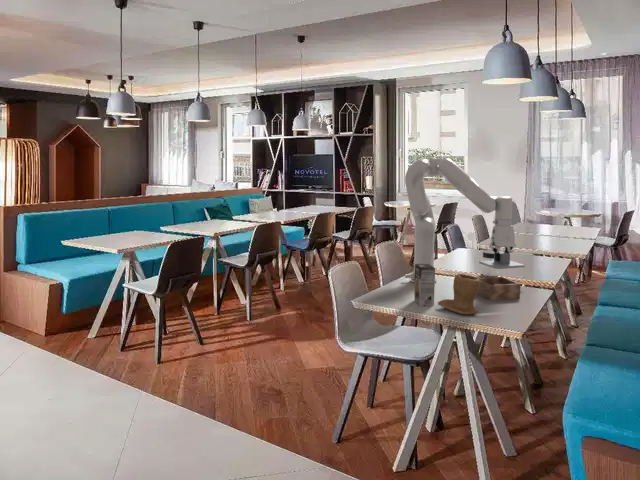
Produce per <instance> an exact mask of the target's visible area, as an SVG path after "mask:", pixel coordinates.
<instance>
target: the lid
mask: <svg viewBox="0 0 640 480" xmlns="http://www.w3.org/2000/svg"><path fill="white" fill-rule="evenodd" d="M499 253H500V262H498V261H495V252H494V260H491V261H482V260H480V261H478V262H479V263H478V264H479V265H482V264H483V265H486V266H489V267H492V268H494V269H498V270H500V269H501V270H504V269H517V268H526V264H523V263H519V262H516V261H513V260H511V253H506V252H505V251H502V250H501V251H499Z"/></svg>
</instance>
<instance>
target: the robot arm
mask: <svg viewBox="0 0 640 480" xmlns="http://www.w3.org/2000/svg"><path fill="white" fill-rule="evenodd" d="M424 177H442V178H444V180H445V181H446V182H448V183H449V184H450V185H451V186H452V187H454V188H455V189H456V190H457V191H458V192H459V193H460V194H462V196H464V197H465V198H467V199H468V200H469V201H470V202H471V203H472V204H473V205H474V206H475V207H476V208H478V209H479V210H480V211H481V212H482V213H485V214H489V213H492V212H494V220H492V224H494V225H493V226H492V227H493V228H492V231H491V240H490V243H489V245H488V248H489V249H491V251H494V252H495V261H498V262H500V253H499V252H500V250H501V248H504V252H506V253H509V254H511V251H512V250H513V248H515V247H516V246H517V245H516V243H515V242H516V241H515V239H516V237H515V227H514V225H512V224H513V223H512V219H513V198H512V197H511V196H503V195H502V196H492V195H490V194H488V193H487V192H486V191H485V190H484V189H482V188H481V186H480V185H478V183H477V182H476V181H475V180H474V179H473V178H472V176H470V175H469V174H468V173H467V172H466V171H464V170H463V169H462V168H461V167H460V166H459V165H457V163H455V162H454V161H453V160H452V159H451V158H448V157H447V158H420V159H417V160H415V161H414V162H413V163H412V164H411V165H410V166H409V167H408V169H407V170H406V172H405V176H404V182H405V189H406V193H407V198H408V201H409V207H410V209H409V210H410V211H411V212H412V215H413V219H414V222H415V224H414V250H413V252H414V255H413V256H414V262H413V271H412V272H411V273H406V274H404V278H405V279H410V282H412V283H414V284H415V264H430V265H431V266H433V267H434V268H435V266H434V265H435V264H434V263H435V229H436V221H435V218H434V214H433V209H432V206H431V202H430V199H429V198H428V197H427V194H426V190H425V186H424ZM436 282H437V278H435V283H436Z"/></svg>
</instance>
